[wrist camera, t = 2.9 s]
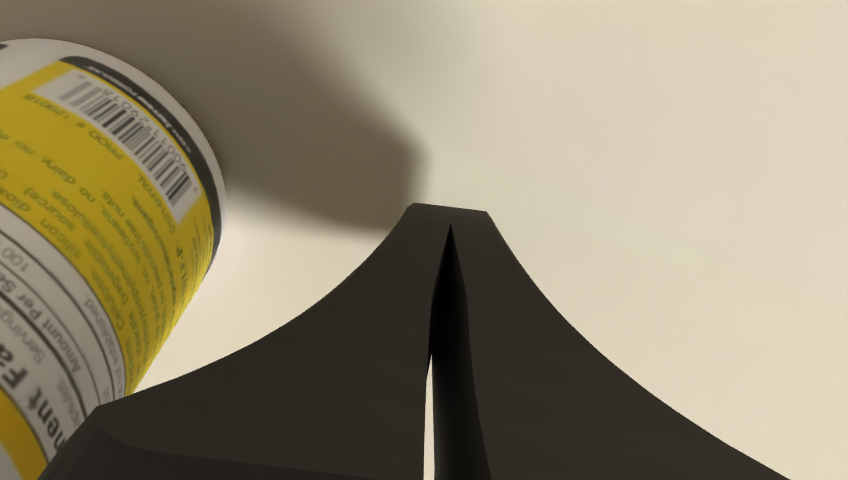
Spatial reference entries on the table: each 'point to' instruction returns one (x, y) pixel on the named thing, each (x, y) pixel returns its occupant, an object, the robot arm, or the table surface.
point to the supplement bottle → (91, 236)
